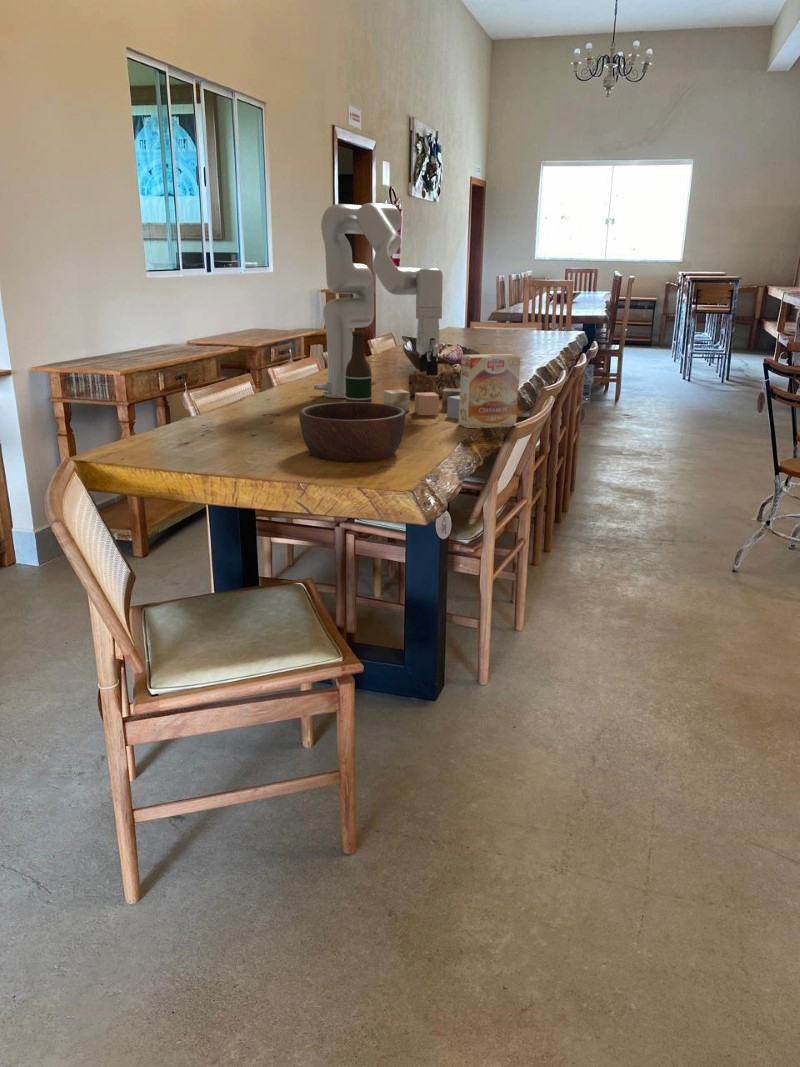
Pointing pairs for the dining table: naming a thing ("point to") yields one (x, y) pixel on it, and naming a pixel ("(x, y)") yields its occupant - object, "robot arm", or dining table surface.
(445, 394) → the walnut block
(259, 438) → the dining table surface
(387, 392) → the beech block
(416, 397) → the terracotta block
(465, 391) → the coffeecake box
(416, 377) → the bread
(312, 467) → the dining table surface
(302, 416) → the wooden bowl
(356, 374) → the beer bottle
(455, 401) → the slate block
